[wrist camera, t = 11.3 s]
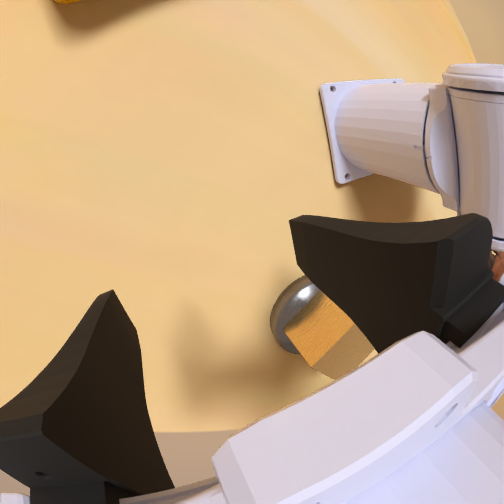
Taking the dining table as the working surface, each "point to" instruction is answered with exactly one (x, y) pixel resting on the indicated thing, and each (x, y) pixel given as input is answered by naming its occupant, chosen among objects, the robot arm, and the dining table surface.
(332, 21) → the dining table surface
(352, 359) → the wooden cube
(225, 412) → the dining table surface
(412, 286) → the robot arm
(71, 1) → the element tile
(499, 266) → the brown arched piece
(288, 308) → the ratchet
